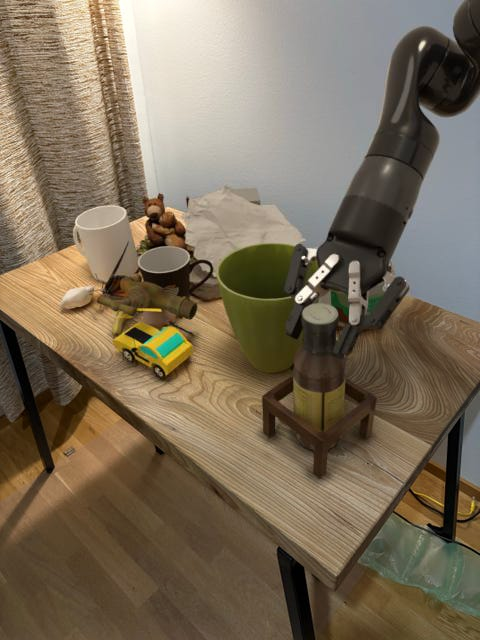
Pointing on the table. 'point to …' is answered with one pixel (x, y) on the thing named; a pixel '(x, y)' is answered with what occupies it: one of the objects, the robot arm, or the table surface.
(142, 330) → the toy car
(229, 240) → the paper
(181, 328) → the stick
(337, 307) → the food container
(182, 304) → the action figure
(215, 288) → the ceramic tile fragment
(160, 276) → the coffee mug
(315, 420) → the sauce bottle
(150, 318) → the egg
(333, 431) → the open square stand
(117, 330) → the banana
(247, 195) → the toy
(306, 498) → the table surface
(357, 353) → the table surface
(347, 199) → the robot arm
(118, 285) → the butterfly
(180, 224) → the bear figurine
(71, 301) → the dumpling
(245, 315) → the flower pot
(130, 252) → the mug
